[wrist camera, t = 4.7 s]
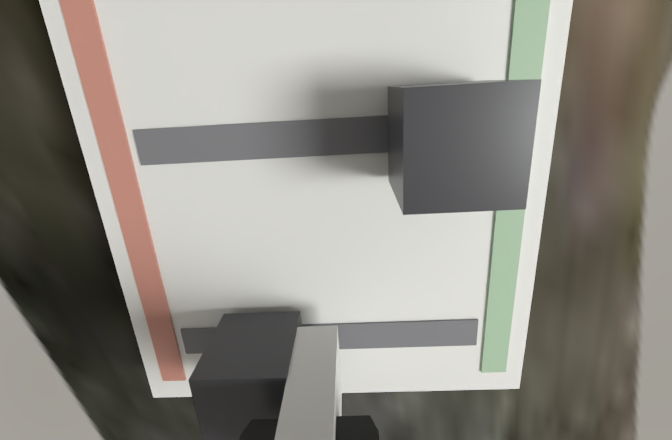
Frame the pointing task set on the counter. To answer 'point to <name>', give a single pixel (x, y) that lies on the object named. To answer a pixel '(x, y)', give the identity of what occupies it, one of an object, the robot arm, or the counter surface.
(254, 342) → the switch
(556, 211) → the counter surface
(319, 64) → the breaker panel
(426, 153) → the block
